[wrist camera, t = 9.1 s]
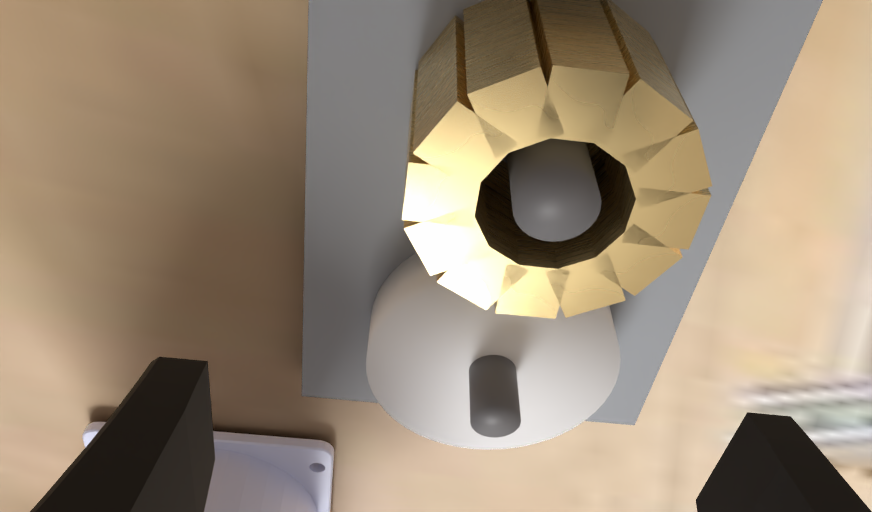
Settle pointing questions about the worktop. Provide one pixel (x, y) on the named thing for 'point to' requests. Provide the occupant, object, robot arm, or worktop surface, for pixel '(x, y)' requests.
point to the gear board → (377, 151)
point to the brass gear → (537, 121)
